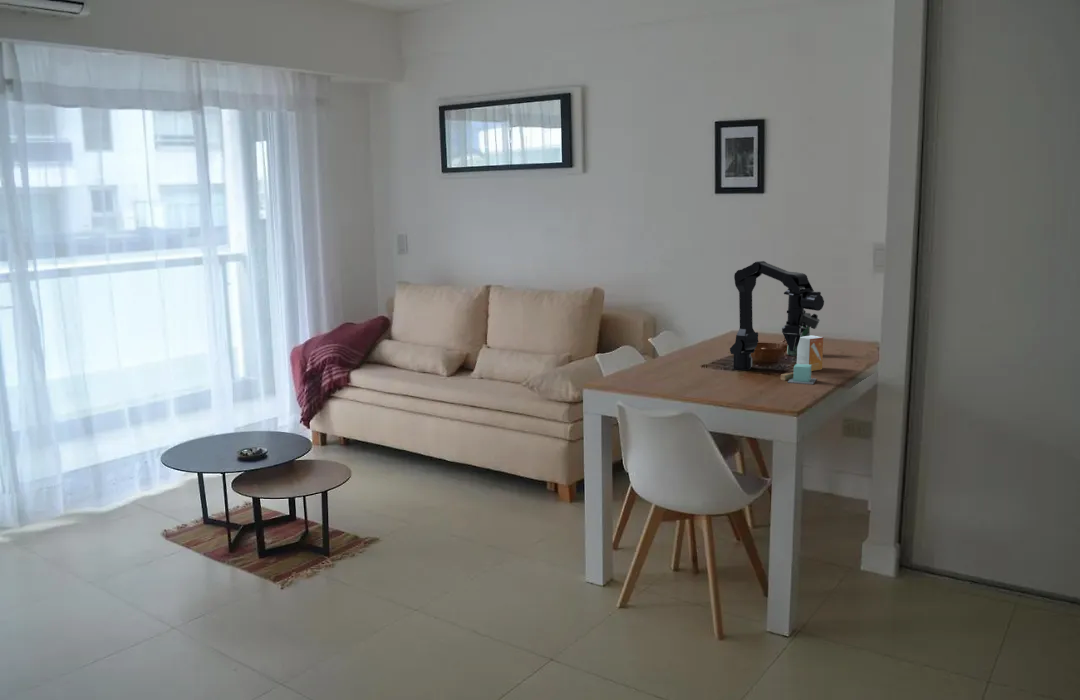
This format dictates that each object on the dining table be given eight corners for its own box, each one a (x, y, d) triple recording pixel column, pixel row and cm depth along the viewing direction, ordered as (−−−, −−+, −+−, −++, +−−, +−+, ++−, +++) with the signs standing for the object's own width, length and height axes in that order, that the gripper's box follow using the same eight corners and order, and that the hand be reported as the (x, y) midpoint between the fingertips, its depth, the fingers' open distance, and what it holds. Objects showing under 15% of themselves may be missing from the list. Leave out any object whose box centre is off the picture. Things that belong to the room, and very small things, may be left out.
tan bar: (784, 380, 334) (784, 375, 334) (780, 379, 336) (780, 374, 335) (798, 377, 338) (799, 372, 338) (794, 377, 340) (794, 371, 340)
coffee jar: (812, 354, 385) (813, 311, 382) (807, 357, 378) (809, 314, 375) (789, 353, 390) (791, 310, 387) (784, 356, 383) (786, 313, 380)
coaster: (787, 382, 330) (787, 381, 330) (791, 378, 338) (791, 377, 338) (812, 384, 326) (812, 383, 326) (816, 379, 334) (816, 378, 334)
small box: (808, 372, 349) (809, 338, 347) (796, 369, 354) (797, 337, 352) (822, 369, 353) (823, 336, 351) (809, 367, 358) (810, 334, 356)
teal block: (793, 381, 331) (793, 366, 330) (795, 378, 336) (796, 363, 335) (808, 382, 329) (809, 367, 328) (810, 379, 333) (811, 364, 333)
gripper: (814, 312, 321) (812, 355, 324) (822, 305, 337) (820, 346, 340) (782, 310, 325) (780, 352, 328) (792, 303, 342) (790, 343, 345)
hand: (793, 348), depth 335 cm, fingers open, 9 cm apart
